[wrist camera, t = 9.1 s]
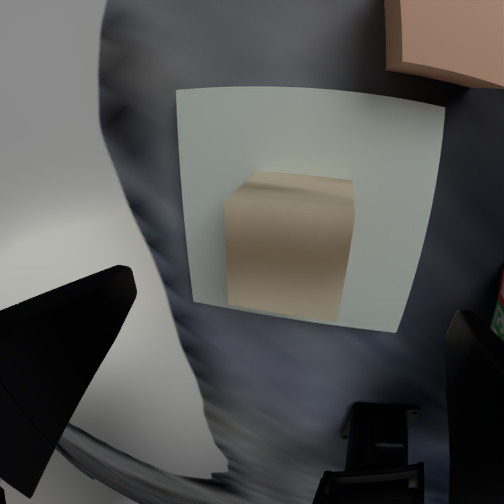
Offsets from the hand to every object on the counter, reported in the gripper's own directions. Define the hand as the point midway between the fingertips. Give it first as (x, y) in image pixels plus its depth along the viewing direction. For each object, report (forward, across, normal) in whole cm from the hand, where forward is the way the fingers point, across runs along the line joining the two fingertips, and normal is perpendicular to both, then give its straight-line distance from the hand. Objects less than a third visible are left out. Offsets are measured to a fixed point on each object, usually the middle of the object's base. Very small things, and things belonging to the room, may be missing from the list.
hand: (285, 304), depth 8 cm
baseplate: (+11, +1, +2) cm, 11 cm away
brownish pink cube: (+11, -6, -9) cm, 16 cm away
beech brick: (+10, +1, +2) cm, 10 cm away
